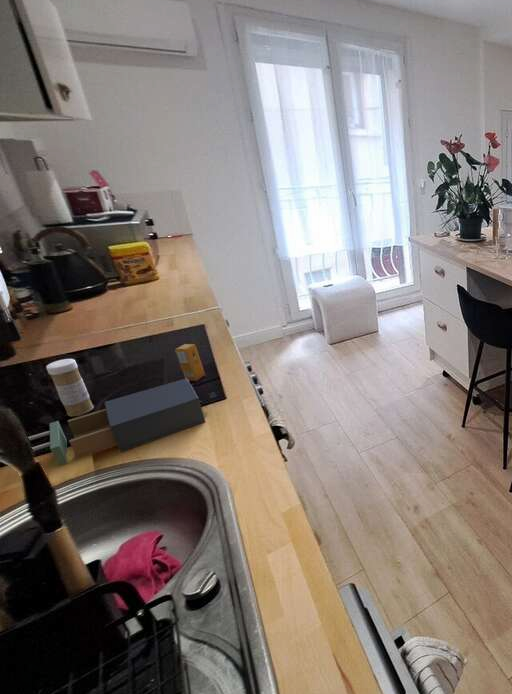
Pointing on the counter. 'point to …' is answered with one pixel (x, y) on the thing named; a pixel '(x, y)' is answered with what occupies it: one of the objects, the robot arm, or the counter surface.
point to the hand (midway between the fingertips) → (8, 341)
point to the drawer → (79, 436)
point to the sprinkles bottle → (70, 387)
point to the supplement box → (190, 362)
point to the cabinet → (153, 413)
